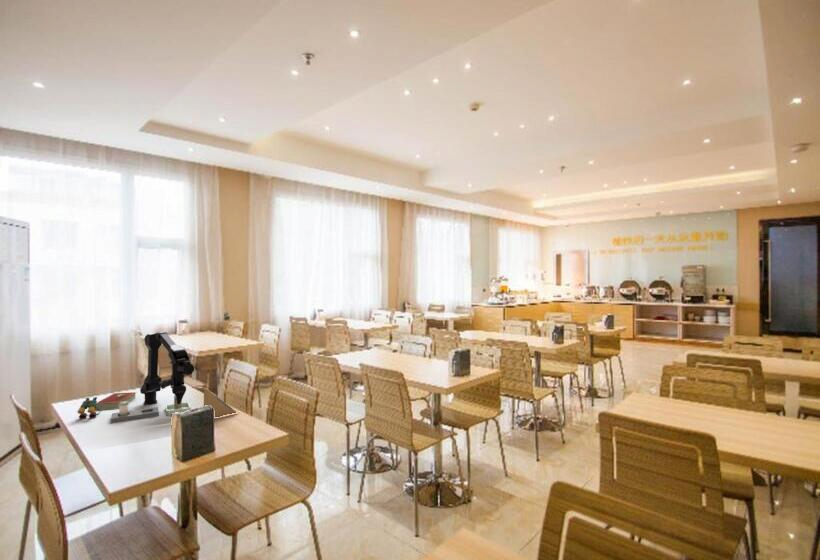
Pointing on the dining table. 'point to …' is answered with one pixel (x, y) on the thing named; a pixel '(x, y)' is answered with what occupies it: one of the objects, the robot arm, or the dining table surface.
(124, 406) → the fuse
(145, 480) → the dining table surface
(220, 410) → the sandwich container
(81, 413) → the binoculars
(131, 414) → the fuse block
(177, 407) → the fuse
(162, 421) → the dining table surface
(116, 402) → the hardcover book
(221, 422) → the dining table surface
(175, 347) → the robot arm
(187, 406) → the parts tray
